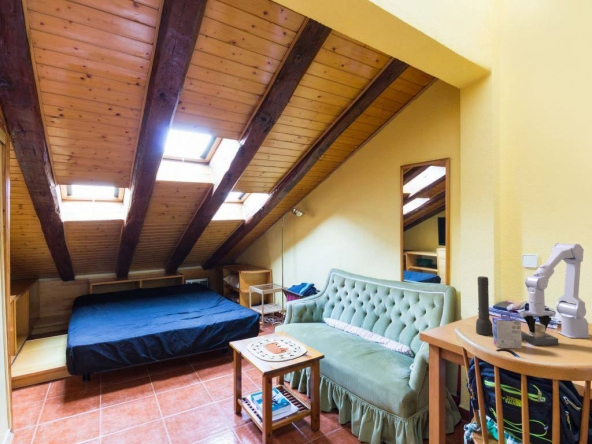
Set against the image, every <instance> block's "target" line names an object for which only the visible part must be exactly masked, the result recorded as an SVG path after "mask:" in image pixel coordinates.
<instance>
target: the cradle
mask: <svg viewBox="0 0 592 444" xmlns="http://www.w3.org/2000/svg"><path fill="white" fill-rule="evenodd" d="M545 336H546V337H535V336H533V335H530V334H529V333H527V332H524V331H523V330H521V340H522V339H523V340H522V341H524V340H525V342H527V343H529V344H531V345H532V346H535V347H539V346H540V347H545V346H546V347H548V346H549V347H551V346H552V347H553V346H559V338H558V337H556V336H554V335H551V334H549V333H547V332H545Z"/></svg>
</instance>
